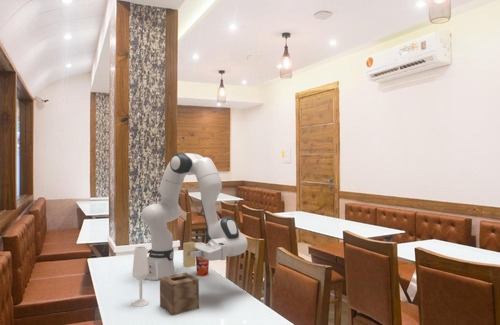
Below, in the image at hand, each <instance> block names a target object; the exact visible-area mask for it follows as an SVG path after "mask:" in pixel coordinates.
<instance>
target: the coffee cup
mask: <svg viewBox="0 0 500 325" xmlns="http://www.w3.org/2000/svg"><path fill="white" fill-rule="evenodd" d="M209 262H210V260H206V259H204V258H202V257H197V256H196V266H195V267H196V275H197V276H199V277H206V276H208V275H209V264H210V263H209Z"/></svg>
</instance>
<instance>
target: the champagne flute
mask: <svg viewBox="0 0 500 325" xmlns="http://www.w3.org/2000/svg"><path fill="white" fill-rule="evenodd" d="M133 250H134V252H133V253H134V254H133V263H132V264H133V265H132V276H133V278H134V279H135V280H137V281H138V282H139V287H138V288H139V290H138V291H139V293H138V294H139V295H138V296H139V298H138V299H137V300H135V302H133V303H132V305H133V306H134V307H143V306H147V305H149V303H150V301H148V300H146V299H144V298H143V281H144V280H146V279H145V278H146V277H147V275H148V273H149V270H148V260H147V257H148V252H147V251H148V250H147V247H146V246H143V245H141V246H136V247H134V249H133Z"/></svg>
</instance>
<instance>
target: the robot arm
mask: <svg viewBox="0 0 500 325" xmlns="http://www.w3.org/2000/svg"><path fill="white" fill-rule="evenodd" d="M192 175H194V176H195V177H196V181H197V184H198V188H199V192H200V200H201V201H200V202H201V207H202V212H203V215H204V220H205V225H206V232H205V234H206V235H205V236H206V238H207V240H208V242H207V243H205V242H195V252H189V256H190V257H193V256H197V257H202V258H204V259H206V260H209V262H210V261H213V262H214V261H225V260H226V259H227V257H235V256H239V255H242V254H244V253H245V251H247V248H248V245H249V244H248V239H247V237H246V236H245V235H244V234H243V233H241V231H240V229H239V225H238V223H237V221H236V220H235V219H234V218H233V217H231V216H226V215H225V216H223V217H222V218H220V219H218V214H217V210H216V204H217V199H218V197H219V195H220V194H221V191H222V189H223V184H222V178H221V177H220V173H219V171H218V168H217V167H216V165H215V164H214V161H213V160H212V159H211V158H210V157H208V156H205V155H203V154H198V153H193V152H187V153H185V152H177V153H175V154H173V155H172V156H171V158H170V161H169V162H168V164H167V166H166V168H165V169H164V171H163V174H162V177H161V181H160V185H159V187H158V193H159V195H160V201H159V203H152V204H150V205H147V206H145V207H144V208H143V209H142V211H141V214H140V215H141V216H140V217H141V220H142V221H143V223H144V224H145V225H146V226H147V228H148V229H149V232H150V236H151V237H150V238H151V249H149V250H146V251H147V254H148V255H147V260H148V270H149V273H148V275H147V277H146V278H145V279H144V280H148V281H158V280H160V277H165V276H170V275H175V274H177V273H176V269H175V264H174V257H175V255H174V252H175V251H174V247H173V246H174V245H173V244H174V243H173V242H174V240H173V238H174V236H173V233H172V232H171V231H170V230H169V229H168V224H167V223H169V222H173V221H175V220H177V219H178V218H179V217H180V216H181V213H182V210H181V206H180V204H179V198H180V197H179V196H180V193H181V190H182V187H183V183H184V181H185V177H187V176H192Z"/></svg>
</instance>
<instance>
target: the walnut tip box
mask: <svg viewBox="0 0 500 325" xmlns="http://www.w3.org/2000/svg"><path fill="white" fill-rule="evenodd" d="M199 280H200V279H199V278H197V277H195V276H193V275H192V274H190V273H188V272H182V273H176V274H175V275H170V276H165V277H160V279H159V306H160V307H161V308H162V309H163V310H165V312H167V313H169V314H170V315H171V316H174V315H178V314H181V313H185V312H189V311H193V310H197V309H199V308H200V298H199V296H200V295H199V294H200V293H199V292H200V290H199V288H200V284H199Z"/></svg>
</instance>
